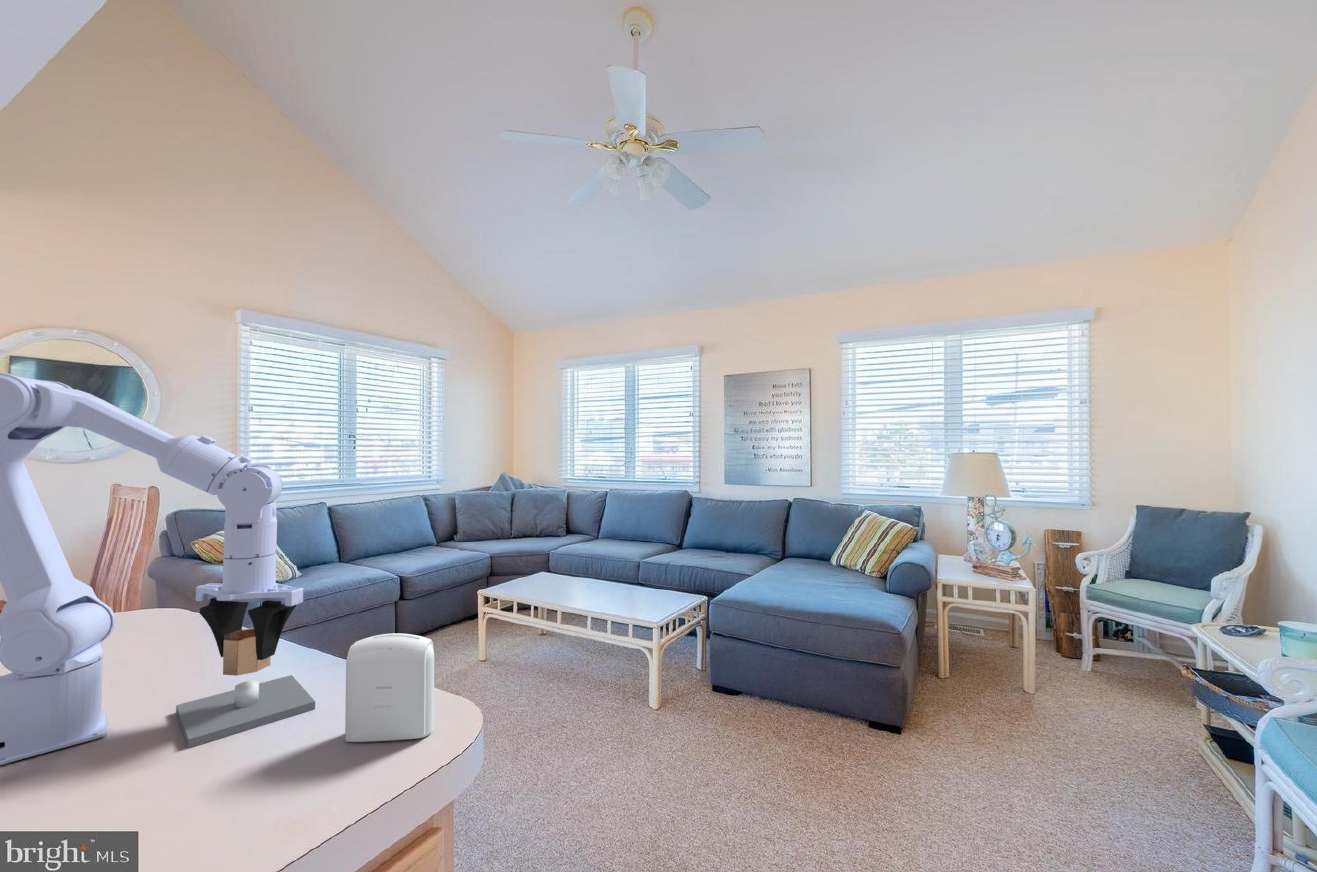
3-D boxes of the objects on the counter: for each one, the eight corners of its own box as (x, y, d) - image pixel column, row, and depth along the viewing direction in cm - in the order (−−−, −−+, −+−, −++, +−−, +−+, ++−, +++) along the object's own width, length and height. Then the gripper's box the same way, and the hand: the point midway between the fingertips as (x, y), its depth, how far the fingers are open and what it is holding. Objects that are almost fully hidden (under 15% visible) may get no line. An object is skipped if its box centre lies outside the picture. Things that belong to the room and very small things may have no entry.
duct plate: (188, 747, 63) (189, 718, 63) (176, 712, 71) (176, 686, 71) (315, 708, 72) (315, 682, 72) (291, 681, 80) (292, 658, 80)
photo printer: (338, 746, 63) (340, 642, 64) (354, 727, 68) (357, 629, 68) (427, 742, 64) (429, 640, 65) (438, 723, 69) (440, 628, 69)
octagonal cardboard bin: (246, 676, 69) (247, 641, 69) (212, 673, 69) (213, 639, 69) (279, 660, 74) (280, 628, 74) (247, 658, 74) (248, 626, 74)
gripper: (173, 558, 69) (170, 664, 69) (272, 563, 67) (270, 671, 67) (224, 548, 76) (222, 643, 76) (316, 552, 74) (313, 650, 74)
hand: (247, 655), depth 72 cm, fingers closed on octagonal cardboard bin, 5 cm apart
